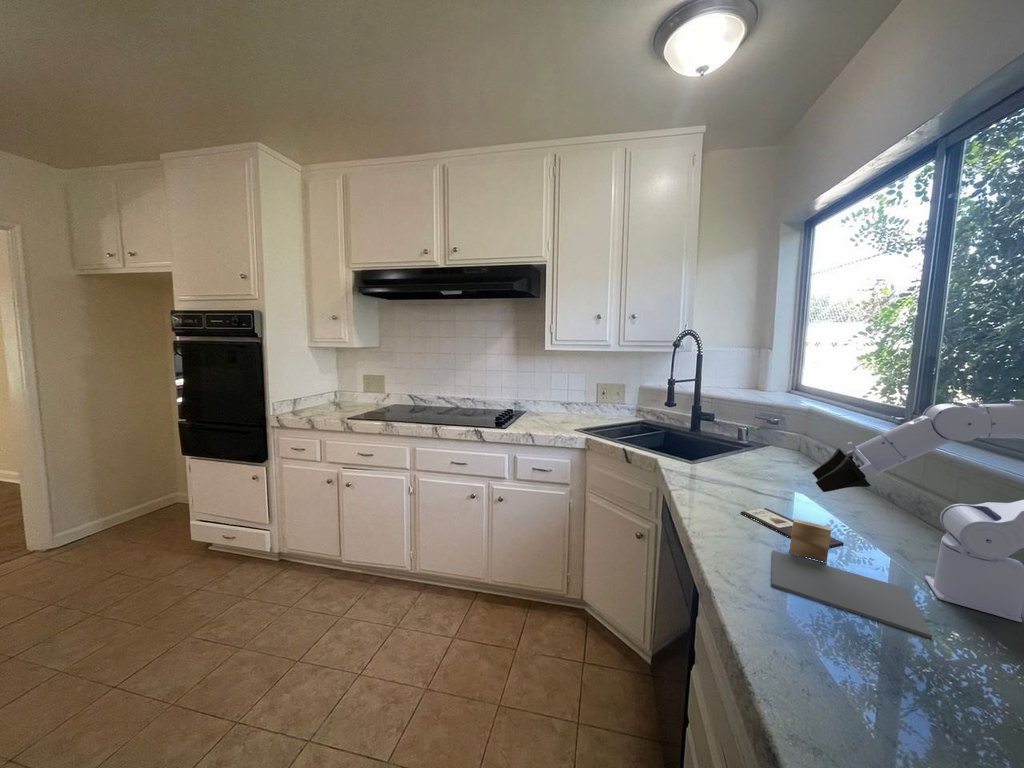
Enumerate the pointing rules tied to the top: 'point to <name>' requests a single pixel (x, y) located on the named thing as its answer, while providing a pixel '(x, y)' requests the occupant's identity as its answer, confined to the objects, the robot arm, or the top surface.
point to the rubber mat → (848, 592)
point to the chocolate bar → (779, 522)
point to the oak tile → (810, 540)
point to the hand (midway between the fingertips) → (817, 482)
